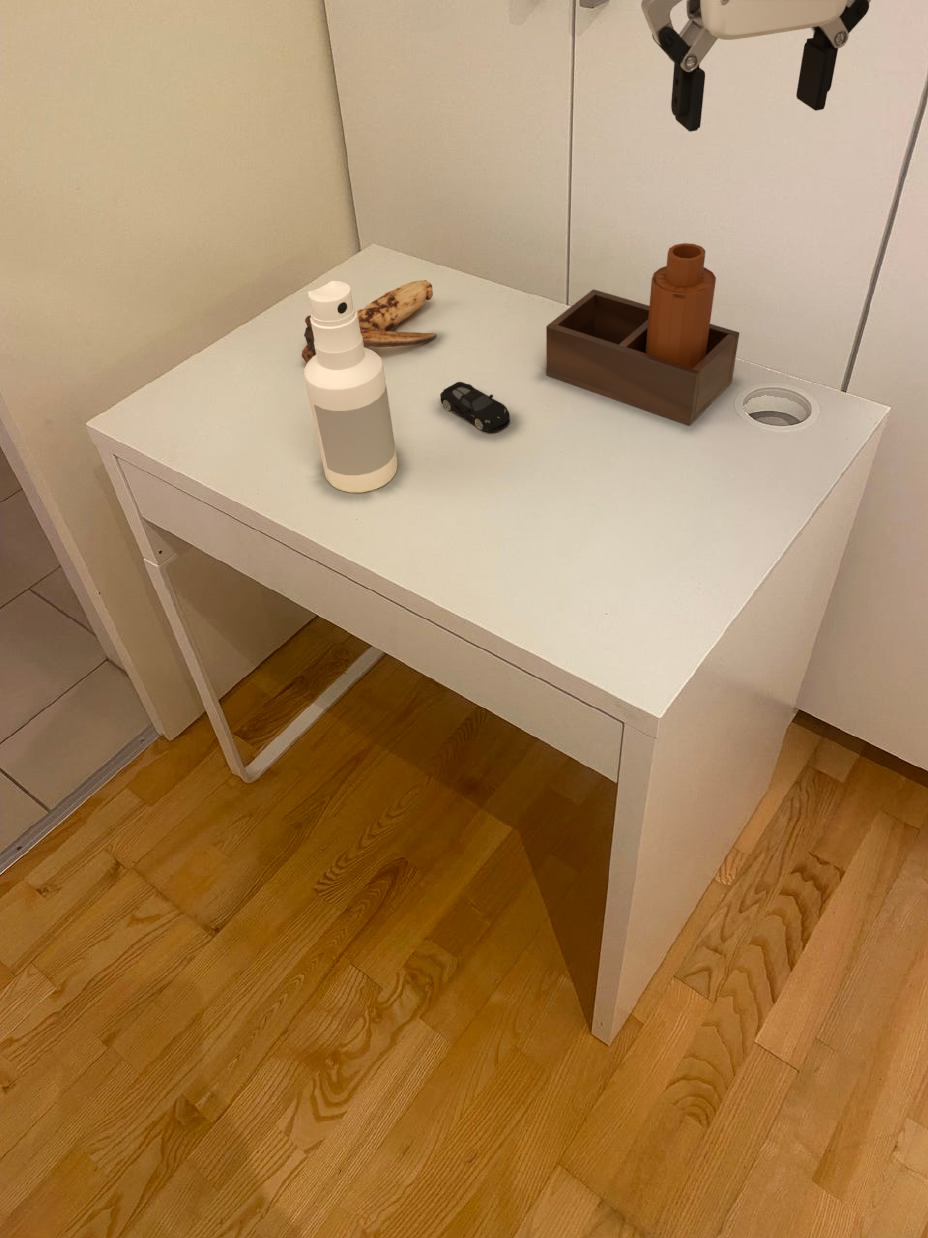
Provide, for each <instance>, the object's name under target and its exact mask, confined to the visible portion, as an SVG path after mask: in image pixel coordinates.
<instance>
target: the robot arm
mask: <svg viewBox="0 0 928 1238" xmlns="http://www.w3.org/2000/svg"><path fill="white" fill-rule="evenodd" d="M682 1H683V0H641V4H640V7H641V10H642V13H643V16H644V18H645V20H646V23H647V25H648V28H649V30H650V31H651V37H652V40H654V42H655V43H656V44H657V46H658V47H659V48H660V49H661V50H662V51H663V52H664V53H665V54H666V56H668V59H669V60H670V61H671V62H673V74H672V75H673V76H672V89H671V100H670V108H671V109H670V110H671V114H672V115H673V116H674V118H675V120H676V122H678V123H679V124H680V125H681V126H682V127H683V128H684V129H686V130H687V131H688V132H696V131H698V130H699V129H700V128H701V122H702V113H703V102H704V93H705V83H706V72H705V71H704V70H703V69H702V68H701V67H700V64H701V63H702V61H703V60H704V58H705V57H706V56H707V54H708V53H709V51H710V50H711V49H712V47H713V46H714V45H715V43H716V42H717V41H718V39H720V40H723V41H724V40H725V41H733V40H741V39H748V38H755V37H761V36H762V37H763V36H768V35H775V34H782V33H786V32H792V31H793V32H794V31H800V30H805V29H810V30H811V32H812V33H813V35H812V37H810V38H806V42H805V43H804V45H803V52H802V57H801V63H800V68H799V76H798V80H797V81H798V82H797V89H796V95H795V96H796V99H797V100H798V101H800V102H801V103H803V104H805V105H806V106H807V107H809V108H810V109H812V110H813V111H815V112H816V111H822V110H824V109H825V107H826V102H827V96H828V93H829V92H830V90H831V88H832V84H833V79H834V74H835V67H836V63H837V57H838V53H839V52H838V51H839V49H840V48H842V47H844V46H845V45H846V43H847V42H848V40H849V36H850V35H849V34H850V33H851V32H852V31H853V30H854V29H855V27H856V26H857V25H858V24H859V23H860V22H861V21H862V20H863V18H865V16H866V15H867V14H868V11H869V9H870V2H871V1H872V0H686V3H685V5H686V17H687V18H688V21H687V22H686V24H685V25H684V26H683V28H682V29H681V30H680V31H679V33H678V31H676V29H675V28H674V26H673V22H672V21H673V20H672V18H671V11H672V10H673V8H674V7H675V6H677V5H678V4H680V2H682Z"/></svg>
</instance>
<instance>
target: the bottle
mask: <svg viewBox="0 0 928 1238" xmlns="http://www.w3.org/2000/svg"><path fill="white" fill-rule="evenodd" d="M666 256H667V258H666V265H665V266H662V267H660V268H658V269H657V270H655V271H654V272H653V273H652V277H651V282H650V283H651V285H650V296H649V318H648V330H647V342H646V354H649V355H652V356H655V357H658V358H661V359H665V360H668V361H671V362H674V363H677V364H680V365H683V366H686V367H689V368H694V367H695V366H696V365H697V364H698V363H699V362H700V361H701V360H702V359H703V358H704V357H705V356H706V350H707V342H708V335H709V327H710V324H711V319H712V313H713V305H714V297H715V296H714V295H715V289H716V284H717V283H716V282H717V277H716V275H715V274H714V272H713V271H711V270H710V269H708V267H707V268H706V267H705V260H706V249H705V248H704V247H703V246H702V245H699V244H696V243H689V242H688V243H687V242H683V243H677V244H674V245H672V246H671V247H669V248H668V251H667V255H666Z"/></svg>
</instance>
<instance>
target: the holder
mask: <svg viewBox="0 0 928 1238" xmlns="http://www.w3.org/2000/svg"><path fill="white" fill-rule="evenodd" d="M649 306H650V304H645V303H642V302H638V301H635V300H631V299H628V298H625V297H622V296H618V295H614V294H611V293H607V292H604V291H601V290H598V289H591V290H590V291H589V292H587V293H586V294H585V295H584V296H583V297H581V298H580V299H579V300H577V301H576V302H575V303H573V305H571V306H570V307H569V308H567V309H566V310H565V311H563V312H562V313H561V314H560V315H558V316H557V317H556V318H555V319H553V320H552V321H551V322H550V323H548V324H547V325H546V326H545V329H546V330H545V332H546V334H545V335H546V338H545V339H546V340H545V343H546V344H545V345H546V348H545V351H546V352H545V353H546V357H545V359H546V362H545V363H546V364H545V365H546V366H545V367H546V368H545V369H546V370H545V373H546V374H545V375H546V376H547V377H550V378H553V379H556V380H558V381H561V382H564V383H566V384H570V385H573V386H575V387H578V388H581V389H584V390H586V391H589V392H592V393H595V394H598V395H600V396H604V397H607V398H609V399H611V400H615V401H618V402H620V403H624V404H626V405H630V406H632V407H635V408H638V409H641V410H643V411H646V412H648V413H652V414H655V415H657V416H661V417H664V418H665V419H669V420H672V421H675V422H677V423H680V424H683V425H686V426H690V427H691V425H692V424H693V423H694V422H695V421H696V420H697V419H698V418H699V417H700V416H701V415H702V414H703V413H704V412H705V411H706V410H707V409H708V408H709V407H710V406H711V405H712V404H713V403H714V402H715V401H716V399H717V398H719V396H721V395H722V394H723V392H725V390H726V389H727V388H728V387H729V386H730V385H731V384H732V382H733V376H734V371H735V365H736V357H737V351H738V347H739V346H738V345H739V339H740V332H739V331H736V330H733V329H729V328H726V327H723V326H719V325H716V324H713V323H710V327H709V335H708V342H707V350H706V356H705V357H704V358H703V359H702V360H701V361H700V362H699V363H698V364H697V365H696V366H695V367H694V368H689V367H686V366H683V365H680V364H677V363H674V362H671V361H668V360H665V359H661V358H658V357H655V356H652V355H649V354H646V342H647V330H648V318H649Z"/></svg>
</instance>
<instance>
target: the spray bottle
mask: <svg viewBox="0 0 928 1238" xmlns="http://www.w3.org/2000/svg"><path fill="white" fill-rule="evenodd" d="M307 296H308V302H309V307H310V315H311V318H310V321H311V326H312V331H313V336H314V346H315V351H316V355H315V356H313V357H312V359H311V360H310V361H309V362H308V363H306V364H305V367H304V369H303V379H304V383H305V387H306V392H307V396H308V401H309V406H310V412H311V415H312V420H313V424H314V429H315V434H316V439H317V444H318V449H319V452H320V456H321V457H320V458H321V461H322V466H323V471H324V475H325V479H326V480H327V481H328V482H329V483H330V485H331V486H333V487H334V488H335V489H337V490H339V491H343V492H346V493H365V492H371V491H374V490H377V489H379V488H382V487H384V486H385V485H386V484H388V483H389V482H390V481H391V480H392V479H393V478H394V476H395V475H396V473H397V470H398V465H399V464H398V463H399V462H398V456H397V450H396V443H395V436H394V429H393V428H394V427H393V423H392V422H393V421H392V415H391V408H390V401H389V394H388V388H387V381H386V374H385V367H384V363H383V360H382V357H381V356H380V355H379V354H378V353H376V351H374V350H372V349H370V348H369V347H368V348H367V347H366V346H364V345H363V338H362V335H361V332H360V326H359V320H358V314H357V311H358V310H357V309H356V307H355V305H354V301H353V295H352V289H351V286H350V285H349V284H348V283H346V282H344V281H339V280H331V281H329V282H328V283H326V284H325V285H322V286H320V287H319V288H316V289H313V290H308V292H307Z"/></svg>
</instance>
